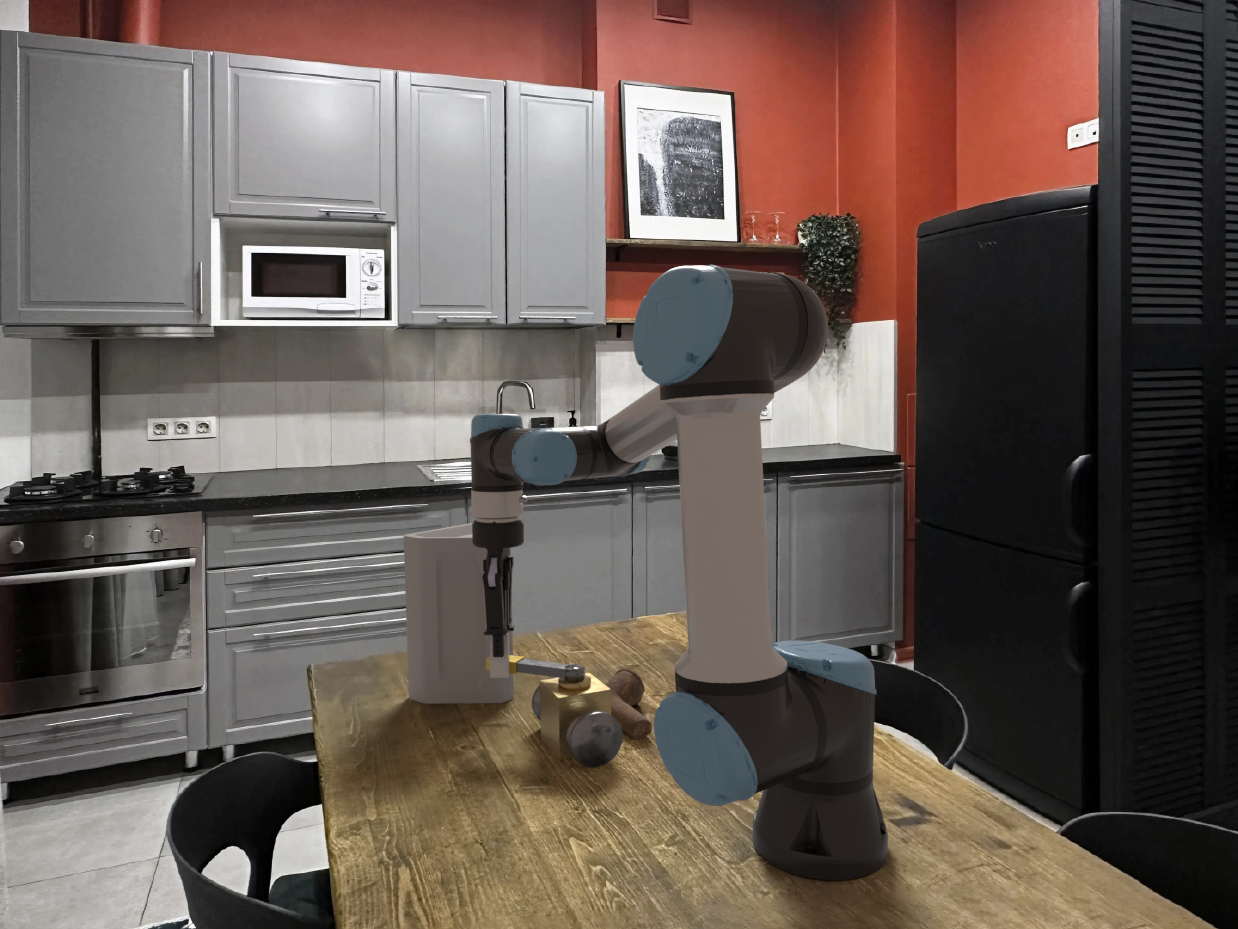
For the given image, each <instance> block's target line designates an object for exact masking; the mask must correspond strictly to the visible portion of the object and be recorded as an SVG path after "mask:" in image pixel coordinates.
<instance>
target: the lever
mask: <svg viewBox="0 0 1238 929" xmlns="http://www.w3.org/2000/svg"><path fill="white" fill-rule="evenodd" d="M509 664H510V673H511V674H513V675H516V674H518V673H520V674H521V673H522V674H529V675H537V676H542V677H549V678H551V677H557V678H564V679H565V680H566V681H570V682H578V681H582V680H584V679H585V673H586V671H585V670H586V667H585V666H584V665H583V664H577V663H576V664H573V663H572V664H571V663H564V662H563V663H560V662H556V661H555V662H553V661H545V660H536V659H529V658H525V656H521V655H514V654H513V655H509ZM486 670H488V671H490V657H488V658H486Z"/></svg>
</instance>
